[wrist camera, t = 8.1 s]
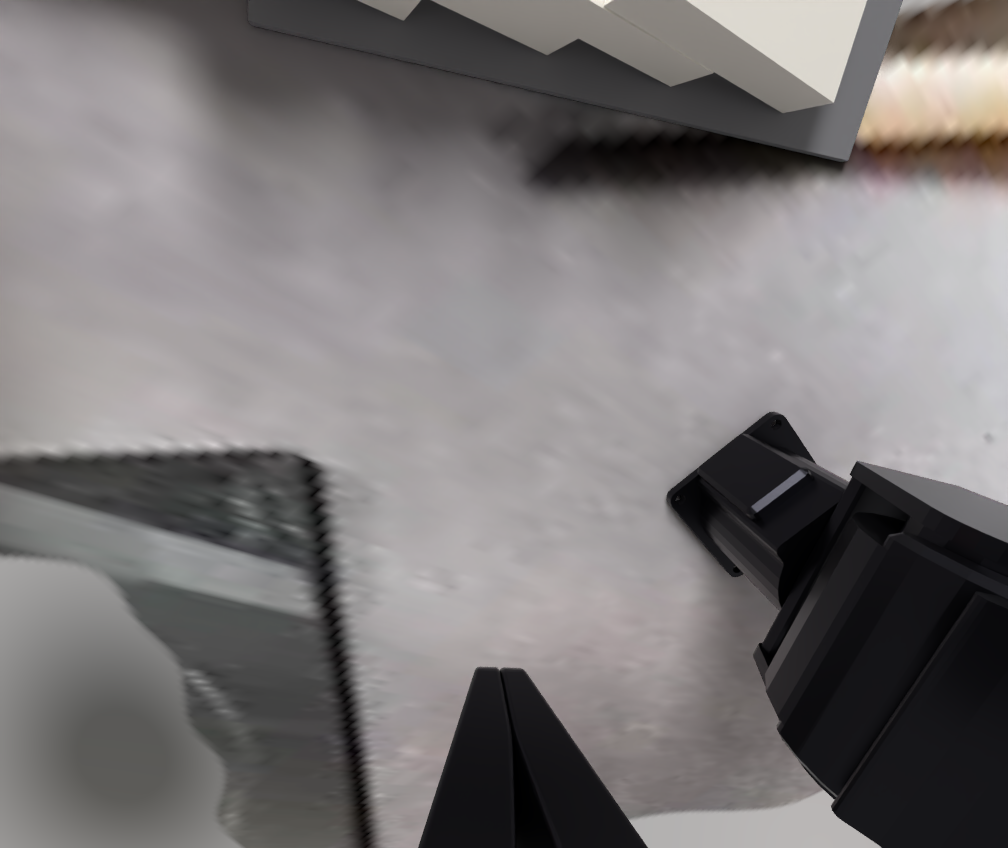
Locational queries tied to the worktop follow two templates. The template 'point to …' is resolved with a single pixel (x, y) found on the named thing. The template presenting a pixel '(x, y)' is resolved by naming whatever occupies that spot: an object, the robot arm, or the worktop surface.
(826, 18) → the domino
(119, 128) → the worktop surface
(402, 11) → the domino
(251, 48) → the worktop surface
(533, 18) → the domino
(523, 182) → the worktop surface
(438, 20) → the strip
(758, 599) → the worktop surface
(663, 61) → the domino
